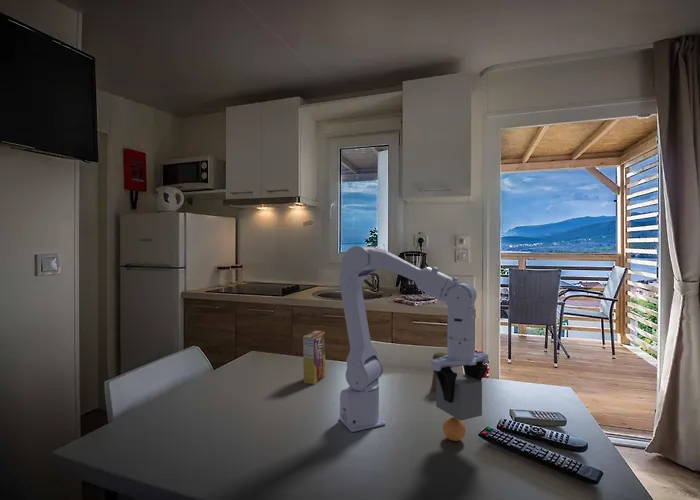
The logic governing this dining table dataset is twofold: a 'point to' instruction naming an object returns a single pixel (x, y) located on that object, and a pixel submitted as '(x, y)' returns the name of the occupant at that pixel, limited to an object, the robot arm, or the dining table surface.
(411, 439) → the dining table surface
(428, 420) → the dining table surface
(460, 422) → the ball
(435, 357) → the cork
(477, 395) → the dark gray square block
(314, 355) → the candy box
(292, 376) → the dining table surface
